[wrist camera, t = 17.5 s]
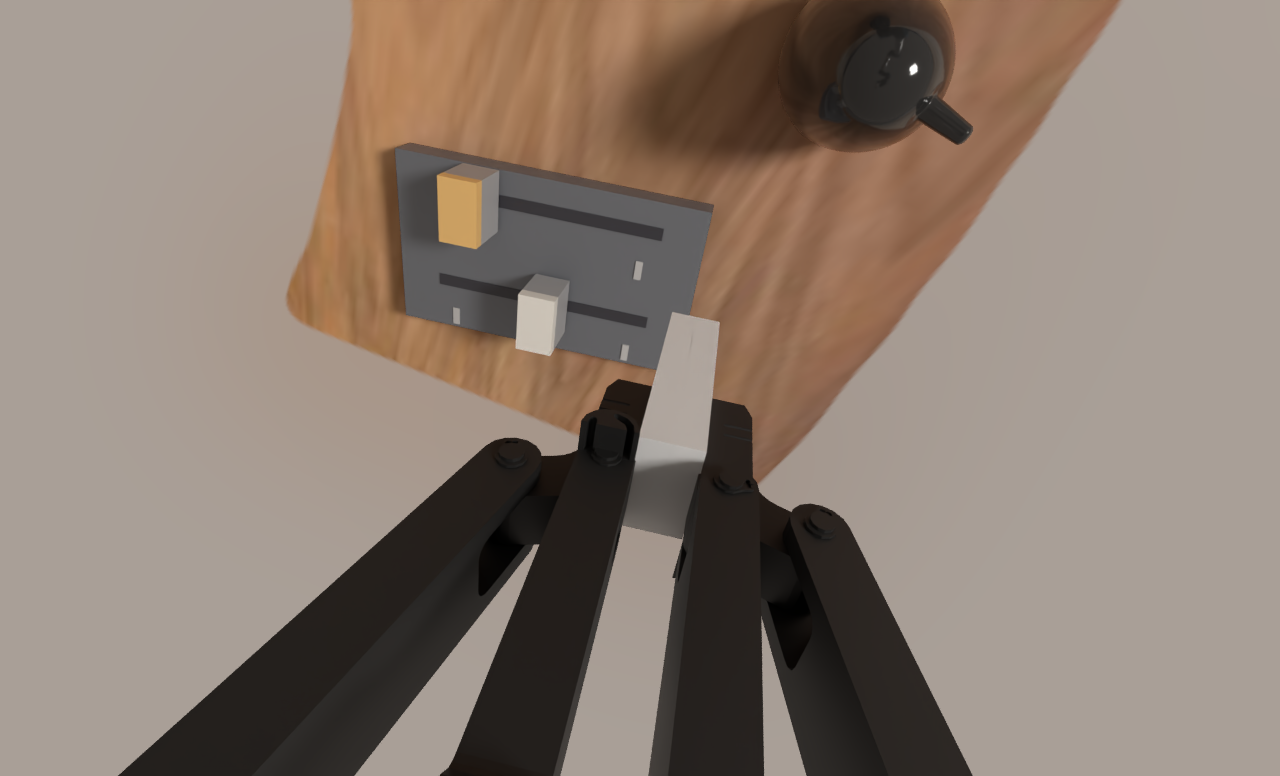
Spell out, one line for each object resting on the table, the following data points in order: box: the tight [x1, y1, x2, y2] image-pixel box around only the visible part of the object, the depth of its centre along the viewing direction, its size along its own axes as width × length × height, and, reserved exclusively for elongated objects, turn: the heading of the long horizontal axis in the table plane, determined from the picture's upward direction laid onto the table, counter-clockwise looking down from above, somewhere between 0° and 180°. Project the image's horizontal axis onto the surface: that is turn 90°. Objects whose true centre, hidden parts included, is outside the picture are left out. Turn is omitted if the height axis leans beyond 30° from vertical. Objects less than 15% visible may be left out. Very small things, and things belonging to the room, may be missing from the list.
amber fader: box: [437, 163, 499, 249], centre depth 46 cm, size 5×3×5 cm, turn 171°
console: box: [395, 143, 714, 370], centre depth 51 cm, size 15×26×3 cm, turn 81°
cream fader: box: [516, 274, 570, 356], centre depth 50 cm, size 5×3×5 cm, turn 171°
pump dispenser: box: [778, 0, 973, 153], centre depth 35 cm, size 10×10×15 cm
